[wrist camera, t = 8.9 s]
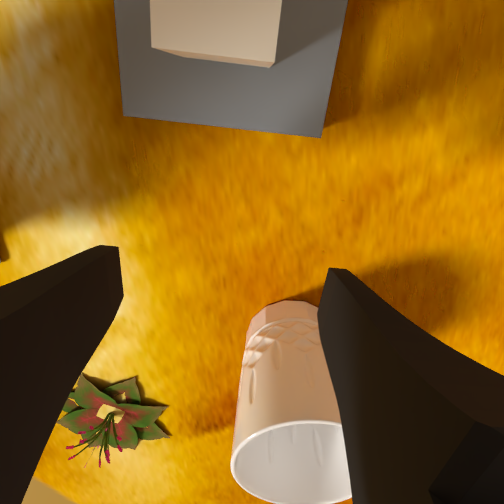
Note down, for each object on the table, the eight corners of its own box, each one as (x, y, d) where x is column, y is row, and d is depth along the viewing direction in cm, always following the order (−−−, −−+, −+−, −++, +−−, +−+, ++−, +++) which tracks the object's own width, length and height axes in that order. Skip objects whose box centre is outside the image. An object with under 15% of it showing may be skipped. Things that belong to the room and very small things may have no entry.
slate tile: (136, 112, 18) (123, 115, 16) (119, -155, 13) (98, -192, 11) (314, 132, 18) (320, 138, 16) (362, -121, 13) (378, -151, 12)
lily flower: (191, 438, 33) (181, 488, 29) (85, 451, 34) (62, 501, 30) (147, 355, 27) (128, 403, 23) (23, 375, 29) (-15, 423, 25)
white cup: (289, 273, 23) (309, 397, 14) (361, 330, 25) (417, 467, 16) (219, 335, 25) (199, 470, 17) (290, 381, 28) (305, 521, 19)
